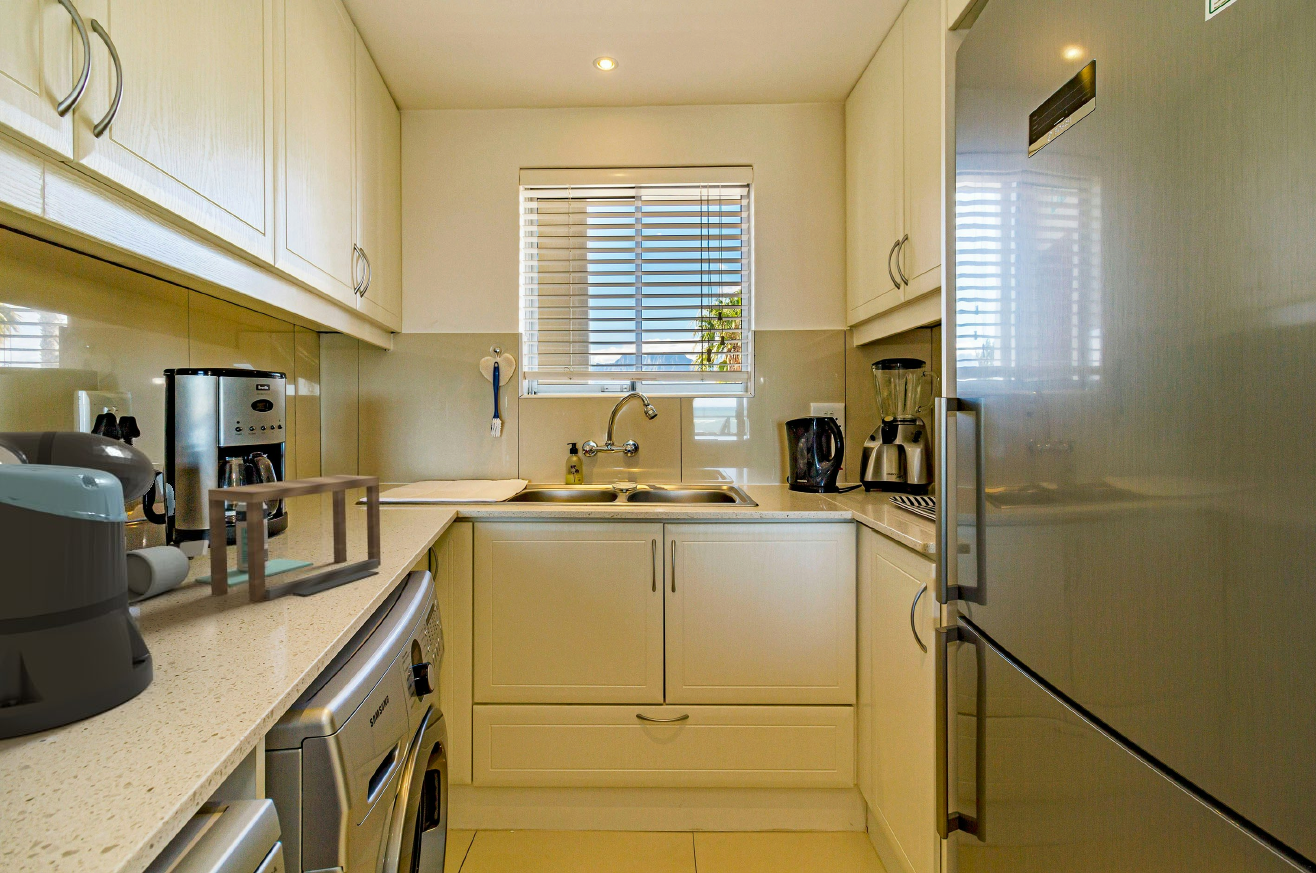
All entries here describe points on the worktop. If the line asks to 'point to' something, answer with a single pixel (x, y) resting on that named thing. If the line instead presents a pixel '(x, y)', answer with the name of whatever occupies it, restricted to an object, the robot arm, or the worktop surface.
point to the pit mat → (335, 583)
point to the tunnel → (255, 531)
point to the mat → (273, 569)
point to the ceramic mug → (155, 571)
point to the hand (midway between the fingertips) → (167, 544)
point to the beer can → (242, 536)
